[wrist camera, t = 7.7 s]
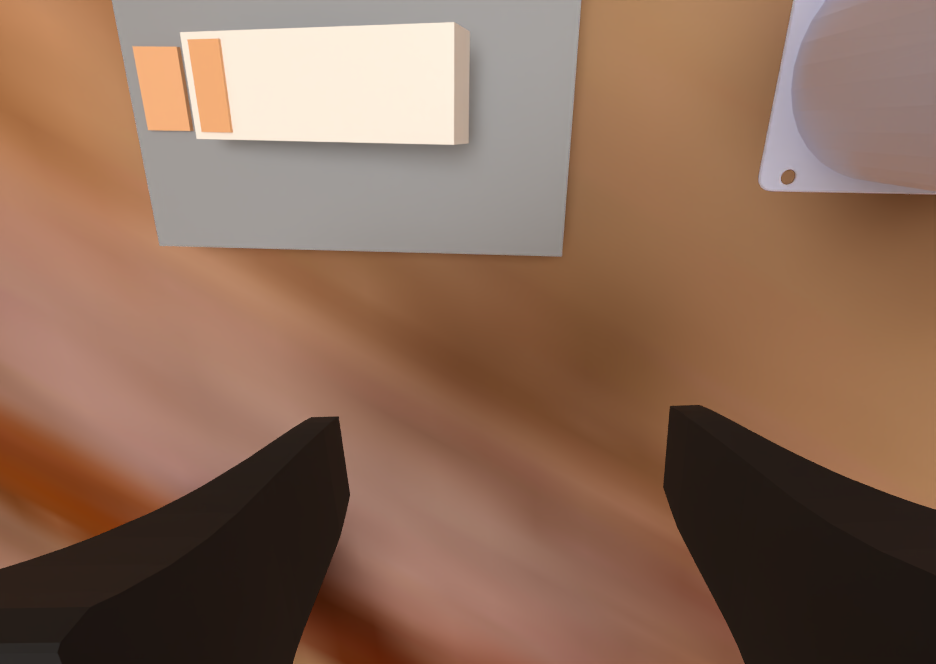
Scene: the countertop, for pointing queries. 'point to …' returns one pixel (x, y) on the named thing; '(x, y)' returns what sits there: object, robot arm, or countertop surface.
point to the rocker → (331, 83)
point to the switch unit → (364, 164)
